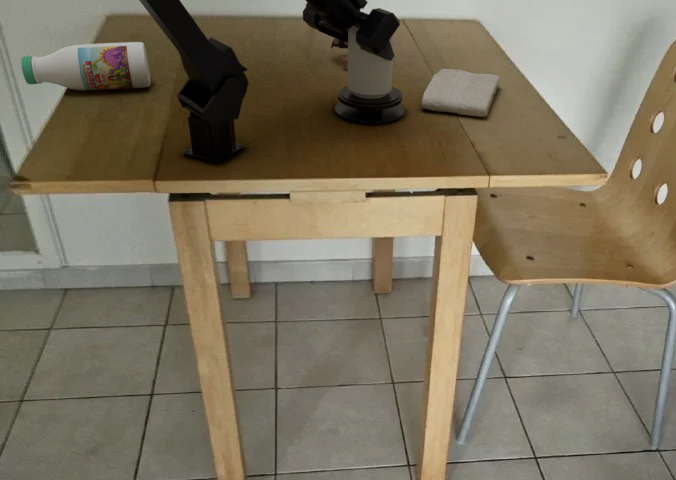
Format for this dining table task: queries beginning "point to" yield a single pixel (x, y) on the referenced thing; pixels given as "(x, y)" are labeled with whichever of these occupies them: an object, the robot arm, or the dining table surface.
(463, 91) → the washcloth
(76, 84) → the milk bottle
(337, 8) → the robot arm
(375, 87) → the can
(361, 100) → the stand
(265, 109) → the dining table surface
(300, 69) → the dining table surface
